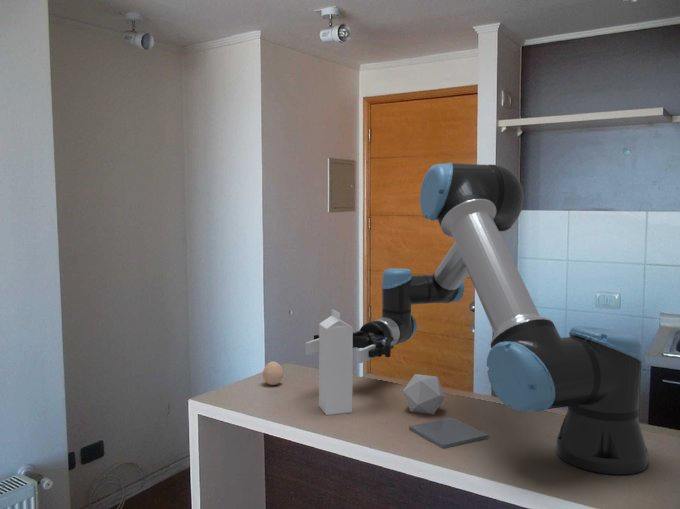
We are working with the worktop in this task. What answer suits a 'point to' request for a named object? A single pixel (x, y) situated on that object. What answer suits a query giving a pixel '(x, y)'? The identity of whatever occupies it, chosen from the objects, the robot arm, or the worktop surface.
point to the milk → (335, 365)
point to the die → (424, 394)
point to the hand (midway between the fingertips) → (332, 352)
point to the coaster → (448, 432)
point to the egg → (273, 373)
